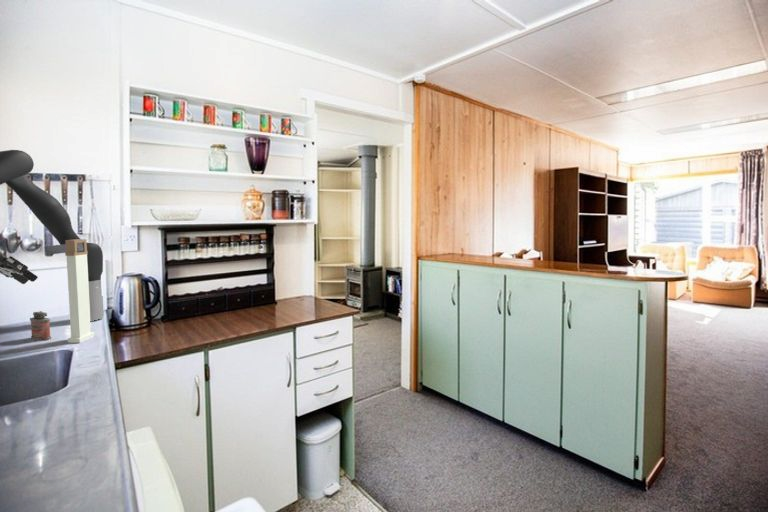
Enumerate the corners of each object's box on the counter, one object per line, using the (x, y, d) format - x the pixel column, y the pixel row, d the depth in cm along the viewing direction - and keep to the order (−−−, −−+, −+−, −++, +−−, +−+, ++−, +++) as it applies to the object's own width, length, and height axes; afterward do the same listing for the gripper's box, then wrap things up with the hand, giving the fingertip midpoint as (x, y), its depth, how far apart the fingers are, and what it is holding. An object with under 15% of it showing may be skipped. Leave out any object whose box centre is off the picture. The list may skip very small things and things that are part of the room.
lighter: (28, 338, 147) (26, 311, 146) (38, 336, 150) (37, 309, 149) (43, 341, 145) (41, 313, 144) (53, 338, 148) (52, 311, 147)
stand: (83, 336, 151) (78, 239, 148) (94, 336, 152) (89, 239, 148) (67, 342, 143) (61, 240, 140) (79, 342, 144) (74, 240, 140)
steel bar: (52, 254, 145) (50, 245, 145) (83, 250, 146) (82, 242, 146) (46, 254, 142) (44, 246, 142) (78, 251, 143) (76, 242, 143)
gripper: (-1, 237, 130) (47, 270, 139) (-15, 244, 138) (31, 275, 147) (-22, 255, 125) (29, 287, 135) (-35, 260, 133) (14, 291, 142)
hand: (30, 280), depth 141 cm, fingers open, 8 cm apart
